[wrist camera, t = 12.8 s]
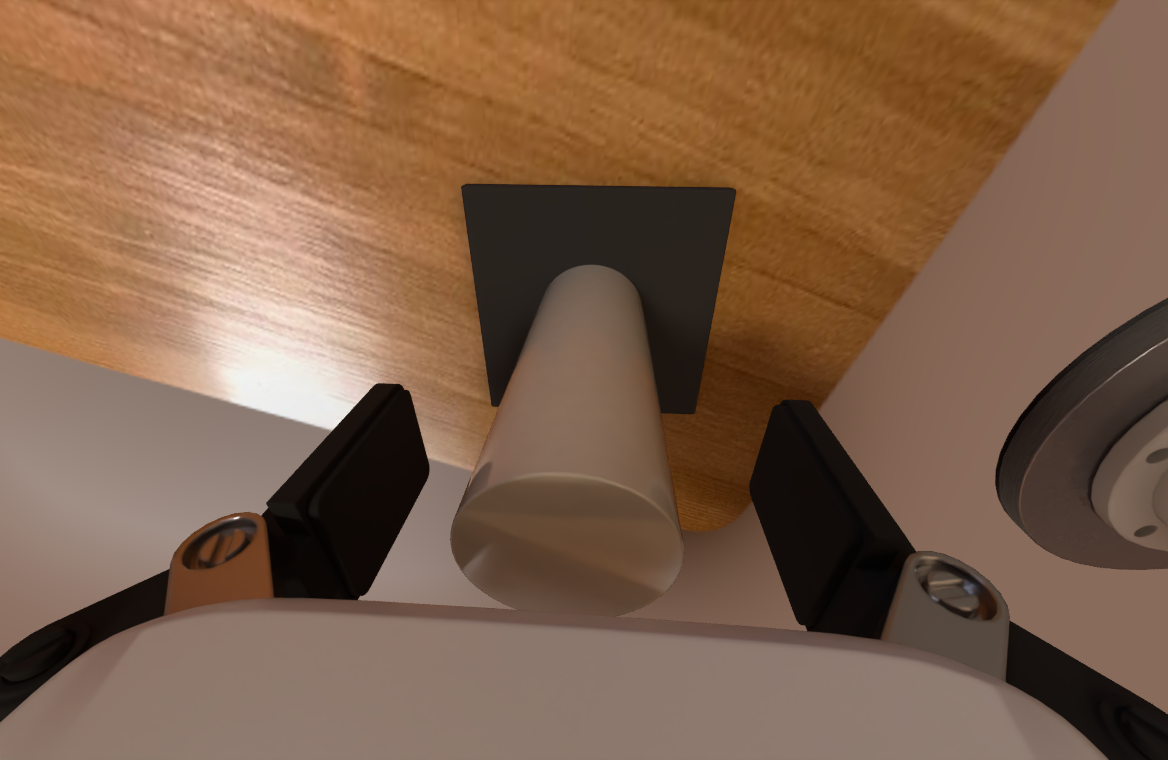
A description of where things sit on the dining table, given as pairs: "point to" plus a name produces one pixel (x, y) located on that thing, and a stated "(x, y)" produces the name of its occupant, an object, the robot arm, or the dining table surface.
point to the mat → (607, 238)
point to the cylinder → (575, 463)
